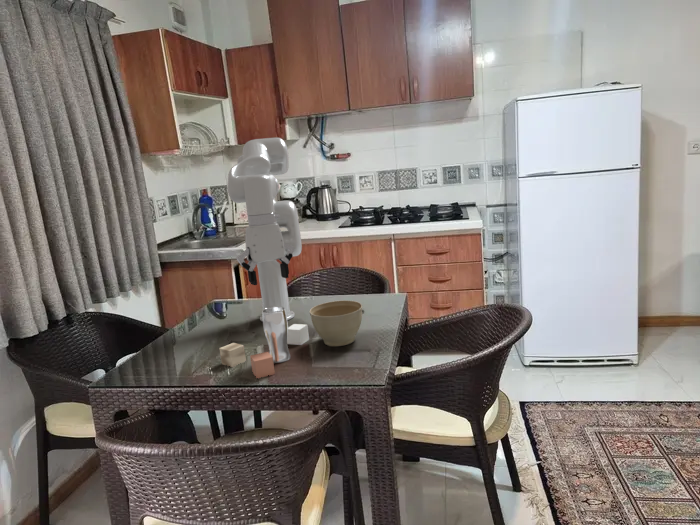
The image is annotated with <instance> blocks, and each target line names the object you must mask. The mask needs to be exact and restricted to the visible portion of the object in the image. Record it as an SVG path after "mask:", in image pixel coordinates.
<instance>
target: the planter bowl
mask: <svg viewBox="0 0 700 525" xmlns="http://www.w3.org/2000/svg"><path fill="white" fill-rule="evenodd" d="M309 314H310V318H311V323H312V326H313V328H314V330H315V332H316V333H317V334H318V336H319V337H320V339H322V340H323V343H324V344H325V345H327V346H328V347H342V346H346V345H350V344H352V343H353V342H354V341H355V339H356V335H357V333H358V332H359V330H360V328H361V324H362V319H363V305H362V303H361V302H359V301H355V300H332V301H328V302H326V301H325V302H323V303H320V304H317V305H315V306H313V307H311V308H310V310H309Z"/></svg>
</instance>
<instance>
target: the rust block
mask: <svg viewBox="0 0 700 525" xmlns="http://www.w3.org/2000/svg"><path fill="white" fill-rule="evenodd" d="M249 356H250V364H251V371H252V372H253V373H252V372H251V373H252V374H253V375H254V377H255V376H256V377H255V379H257V378H258V379H261V377H262V378H266V377H268V375H269V376H272V375H275V374H276V371H275V365H274V364H275V363H273V357H272V356H271V355H270V351H264V352H260V353H256V354H251V355H249Z"/></svg>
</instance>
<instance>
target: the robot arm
mask: <svg viewBox="0 0 700 525" xmlns="http://www.w3.org/2000/svg"><path fill="white" fill-rule="evenodd" d="M288 149H289V148H288V146H287V143H286V142H285V140H284V139H282V138H281V137H266V138H255V139H251V140H248V141H246V142H245V144H244V145H243V148H242V155H240V156H238V158H237V164H235V165H233V166H232V167H231V168H230V170H229V172H228V174H227V175H228V176H227V194H228V196H229V199H230V200H231V202H234V203H237V204H240V203H241V204H242V203H244V204H245V206H246V209H245V210H246V214H247V223H248V226H246V227H245V237H244V238H245V250H243V251H242V252H241V253H239V254H238V255H237V256H236V257H235V259H236V260H237V262H238V264H240V266H241V267H242V268H243V269H245V270H246V271H247V277H248V278H247V279H248V282H249V283H250V285H252V286H257V285H258V281H259V287H260V295H261V303H262V310H264V309H266V308H269V307H275V306H281V307H284V308H285V311H286V316H287V321H290V320H291V319H293V318H294V317H295V312H294V311H293V310H290V301H289V293H288V286H287V279H289V274H290V269H289V264H290V261H291V259H292V258H293V257H298V256H300V255H301V253H302V250H303V246H302V245H303V244H302V243H303V242H302V237H301V228H300V223H299V215H298V209H297V206H296V204H295V203H294V202H293V201H292V200H286V199H285V200H278V201H277V200H276V197H277V195H278V194H279V193H280V186H279V182H278V181H279V180H278V178H276V177H275V176H280V175H285V174H286V173H287V172H288V170H289V168H290V167H289V166H290V162H289V158H290V157H289V150H288ZM282 228H285V229H286V230H283V231H281V229H282ZM245 258H246V260H247V261H248V262H246V261H245ZM278 260H279V261H280V262H281V263H280V262H279V261H278ZM256 267H257V271H255V268H256ZM256 272H258V279H257V273H256ZM259 320H260V321H261V322H262V323H263V318H262V314H261V315H260V317H259Z"/></svg>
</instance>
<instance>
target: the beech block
mask: <svg viewBox="0 0 700 525" xmlns="http://www.w3.org/2000/svg"><path fill="white" fill-rule="evenodd" d="M245 351H246V350H245V345H243V344H241V343H236V342H232V343H230V344H227V345H224V346H222V347H219V356H220V360H221V362H220V363H221V365H224V366H226V365H227V366H226V367H229V366H230V367H229V368H234V367H237V366H238V364H239V365H241V364H243V363H245V361H246V362H247V358H246V352H245ZM240 363H241V364H240ZM236 365H237V366H236Z"/></svg>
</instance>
